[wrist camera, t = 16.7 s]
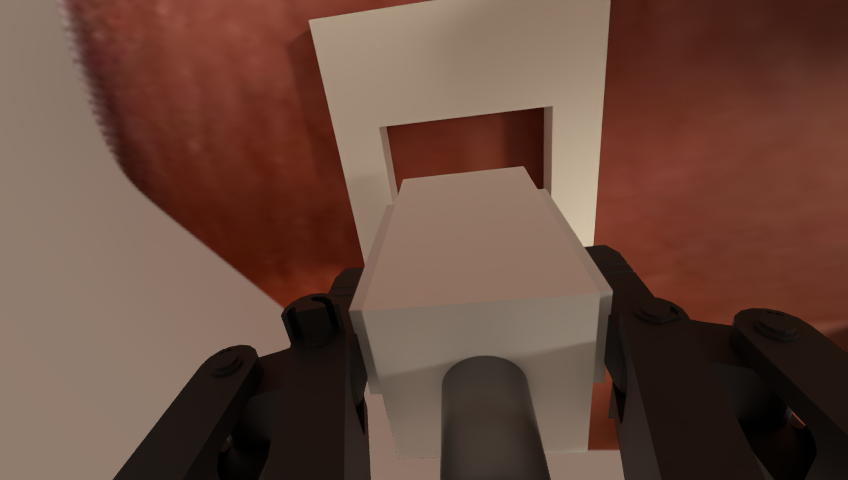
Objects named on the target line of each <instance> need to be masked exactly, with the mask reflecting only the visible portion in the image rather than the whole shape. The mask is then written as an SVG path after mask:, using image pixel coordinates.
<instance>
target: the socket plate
mask: <svg viewBox="0 0 848 480" xmlns="http://www.w3.org/2000/svg"><path fill="white" fill-rule="evenodd" d="M610 3H611V0H432V1H426V2H420V3H413V4H407V5H401V6H394V7H388V8H382V9H375V10H369V11H363V12H356V13H350V14H344V15H337V16H331V17H325V18H318V19H312V20H309V24H310V29H311V33H312V37H313V42H314V46H315V50H316V55H317V59H318V63H319V68H320V72H321V76H322V81H323V85H324V89H325V94H326V98H327V102H328V107H329V111H330V115H331V120H332V124H333V129H334V133H335V137H336V142H337V146H338V150H339V155H340V159H341V163H342V168H343V172H344V176H345V181H346V185H347V189H348V194H349V198H350V202H351V207H352V211H353V215H354V220H355V224H356V228H357V233H358V237H359V241H360V246H361V250H362V254H363V259H364V263H365V264H366V262H367V259H368V256H369V253H370V251H371V248H372V245H373V242H374V239H375V237H376V234H377V231H378V228H379V226H380V223H381V220H382V217H383V214H384V212H385V209H386V206H387V205H392V204H396V201H397V197H398V192H397V186H396V180H395V175H394V169H393V163H392V157H391V151H390V145H389V139H388V133H387V128H386V126H393V125H402V124H410V123H418V122H426V121H434V120H442V119H450V118H459V117H467V116H475V115H483V114H491V113H499V112H507V111H516V110H524V109H532V108H540V107H544V189H546V190H547V191H548V193H549V194H550V196H551V197H552V199H553V200H554V202H555V203H556V205H557V206H558V208H559V209H560V211H561V213H562V214H563V216H564V217H565V219H566V220H567V222H568V223H569V225H570V226H571V228H572V229H573V231H574V232H575V234H576V235H577V237H578V238H579V240H580V241H581V243H582V245H583V246H584V247H588V246H593V242H594V228H595V214H596V200H597V186H598V172H599V158H600V144H601V129H602V115H603V101H604V87H605V73H606V59H607V45H608V31H609V17H610Z"/></svg>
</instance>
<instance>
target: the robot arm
mask: <svg viewBox="0 0 848 480" xmlns="http://www.w3.org/2000/svg"><path fill="white" fill-rule="evenodd" d="M538 191H539V193H540V194H541V196H542V198H543V199H544V201H545V203H546V204H547V206H548V208H549V209H550V211H551V213H552V214H553V216H554V218H555V219H556V221H557V222H558V224H559V226H560V227H561V229H562V231H563V232H564V234H565V236H566V237H567V239H568V241H569V242H570V244H571V246H572V247H573V249H574V251H575V252H576V254H577V256H578V257H579V259H580V261H581V262H582V264H583V266H584V267H585V269H586V271H587V272H588V274H589V276H590V277H591V279H592V280H593V282H594V284H595V285H596V287H597V289H598V290H599V292H600V301H599V313H598V326H597V338H596V350H595V362H594V375H593V383H598V382H604V375H605V365H606V367H607V369H608V371H609V373H610V375H611V377H612V380H613V382H612V391H611V400H610V408H609V417H608V418H614V417H615V423H616V429H617V435H618V441H619V448H620V453H621V460H622V465H623V472H624V478H625V480H848V354H847V353H846V352H845V351H844V350H842V349H841V348H840V347H838V346H837V345H836V344H834V343H833V342H832V341H831V340H829V339H828V338H827V337H825V336H824V335H823V334H821V333H820V332H819V331H818V330H816V329H815V328H814V327H812V326H811V325H809V324H808V323H806V322H804V321H803V320H801V319H799V318H797V317H794V316H792V315H789V314H786V313H784V312H781V311H777V310H771V309H760V308H751V309H746V310H742V311H740V312H739V313H737V314H736V315H735V316H734V320H733V324H732V326H731V325H723V324H716V323H708V322H701V321H695V320H691V319H689V316H688V315H687V314H686V313H685V311H684V310H683V309H682V308H680V307H679V306H677V305H676V304H674V303H672V302H670V301H667V300H664V299H661V298H655V297H654V296H653V294H652V293H651V292H650V291H649V289H648V288H647V287H646V286H645V284H644V283H643V282H642V281H641V279H640V278H639V277H638V276H637V274H636V273H635V272H633V269H632V268H631V267H630V266H629V264H627V262H626V261H625V259H624V258H623V257H622V256H621V254H620V253H619V252H617V251H615V250H613V249H612V248H610V247H608V246H606V245H599V246H588V247H584V246H583V245H582V243H581V241H580V240H579V238H578V237H577V235H576V234H575V232H574V231H573V229H572V228H571V226H570V225H569V223H568V222H567V220H566V219H565V217H564V216H563V214H562V213H561V211H560V209H559V208H558V206H557V205H556V203H555V202H554V200H553V199H552V197H551V196H550V194H549V193H548V191H547V190H546V189H538ZM394 207H395V204H392V205H387V206H386V209H385V212H384V214H383V217H382V220H381V223H380V226H379V228H378V231H377V234H376V237H375V239H374V242H373V245H372V248H371V251H370V253H369V256H368V259H367V262H366V264H365V267H361V268H350V269H345V270H344V271H343V272H342V273H341V274H339V275H338V276H337V277H336V278H335V280H334V282H333V284H332V287H331V290H330V291H329V293H328V294H325V293H318V294H311V295H308V296H304V297H301V298H299V299H297V300H296V301H294V302H292V303H291V304H290V305H288V306H287V307H286V308H285V309H284V311H283V313H282V314H281V317H282V320H283V323H284V326H285V328H286V331H287V334H288V337H289V339H290V342H291V346H290V348H288V349H285V350H282V351H280V352H276V353H273V354H269V355H266V356H262V357H258V355H257V352H256V350H255V349H254V348H252V347H251V346H248V345H237V346H232V347H229V348H226V349H223V350H221V351H219V352H218V353H216V354H214V355H213V356H211V357H210V358H208V359H207V360H206V361H205V362H204V363H203V364H202V365H201V366H200V368H199V369H198V370H197V371H196V373H195V374H194V375H193V377H192V378H191V379H190V381H189V382H188V383H187V384H186V386H185V387H184V388H183V389H182V391H181V392H180V394H179V395H178V396H177V397H176V399H175V400H174V401H173V402H172V404H171V405H170V406H169V408H168V409H167V410H166V411H165V413H164V414H163V415H162V417H161V418H160V419H159V421H158V422H157V423H156V424H155V426H154V427H153V428H152V430H151V431H150V432H149V433H148V435H147V436H146V438H145V439H144V440H143V441H142V443H141V444H140V445H139V446H138V448H137V449H136V450H135V452H134V453H133V454H132V455H131V457H130V458H129V459H128V461H127V462H126V463H125V464H124V466H123V467H122V468H121V470H120V471H119V472H118V473H117V475H116V476H115V477H114V479H113V480H371V475H370V455H369V436H368V415H367V405H366V402H365V398H364V391H365V386H366V382H368V385H369V389H370V393H371V394H382V391H381V387H380V383H379V379H378V375H377V371H376V367H375V363H374V359H373V355H372V351H371V347H370V343H369V339H368V335H367V330H366V326H365V322H364V318H363V314H362V309H363V306H364V302H365V299H366V296H367V293H368V290H369V287H370V283H371V280H372V277H373V274H374V271H375V267H376V264H377V261H378V258H379V255H380V252H381V248H382V245H383V242H384V239H385V236H386V232H387V229H388V226H389V223H390V220H391V217H392V213H393V210H394ZM792 412H794V413H795V414H796V415H797V416H798V417H799V418H800V419H801V420H802V421H803V423H804V424H805V425H806V426H804V425H803V424H802V423H801V422H800V421H799V420H798V419H797V418H796V417H795V416H794V415H793V414H792Z"/></svg>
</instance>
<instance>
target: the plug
mask: <svg viewBox="0 0 848 480" xmlns="http://www.w3.org/2000/svg"><path fill="white" fill-rule="evenodd" d="M599 301H600V292H599V290H598V289H597V287H596V285H595V284H594V282H593V280H592V279H591V277H590V276H589V274H588V272H587V271H586V269H585V267H584V266H583V264H582V262H581V261H580V259H579V257H578V256H577V254H576V252H575V251H574V249H573V247H572V246H571V244H570V242H569V241H568V239H567V237H566V236H565V234H564V232H563V231H562V229H561V227H560V226H559V224H558V222H557V221H556V219H555V218H554V216H553V214H552V213H551V211H550V209H549V208H548V206H547V204H546V203H545V201H544V199H543V198H542V196H541V194H540V193H539V191H538V189H537V188H536V186H535V184H534V183H533V181H532V179H531V178H530V176H529V174H528V173H527V171H526V169H525V168H524V166H520V167H511V168H502V169H493V170H484V171H475V172H466V173H456V174H447V175H438V176H429V177H420V178H411V179H403V182H402V185H401V188H400V191H399V194H398V197H397V201H396V204H395V207H394V210H393V213H392V217H391V220H390V223H389V226H388V229H387V232H386V236H385V239H384V242H383V245H382V248H381V252H380V255H379V258H378V261H377V264H376V267H375V271H374V274H373V277H372V280H371V283H370V287H369V290H368V293H367V296H366V299H365V302H364V306H363V309H362V314H363V318H364V322H365V326H366V330H367V335H368V339H369V343H370V347H371V351H372V355H373V359H374V363H375V367H376V371H377V375H378V379H379V383H380V387H381V391H382V395H383V399H384V403H385V407H386V411H387V415H388V419H389V423H390V428H391V432H392V436H393V440H394V443H395V447H396V452H397V456H398V459H406V458H435V457H441V463H440V464H441V466H440V467H441V468H440V480H551V479H550V474H549V470H548V466H547V462H546V457H545V454H550V453H577V452H587V448H588V436H589V424H590V411H591V399H592V387H593V375H594V362H595V350H596V338H597V326H598V313H599Z"/></svg>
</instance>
